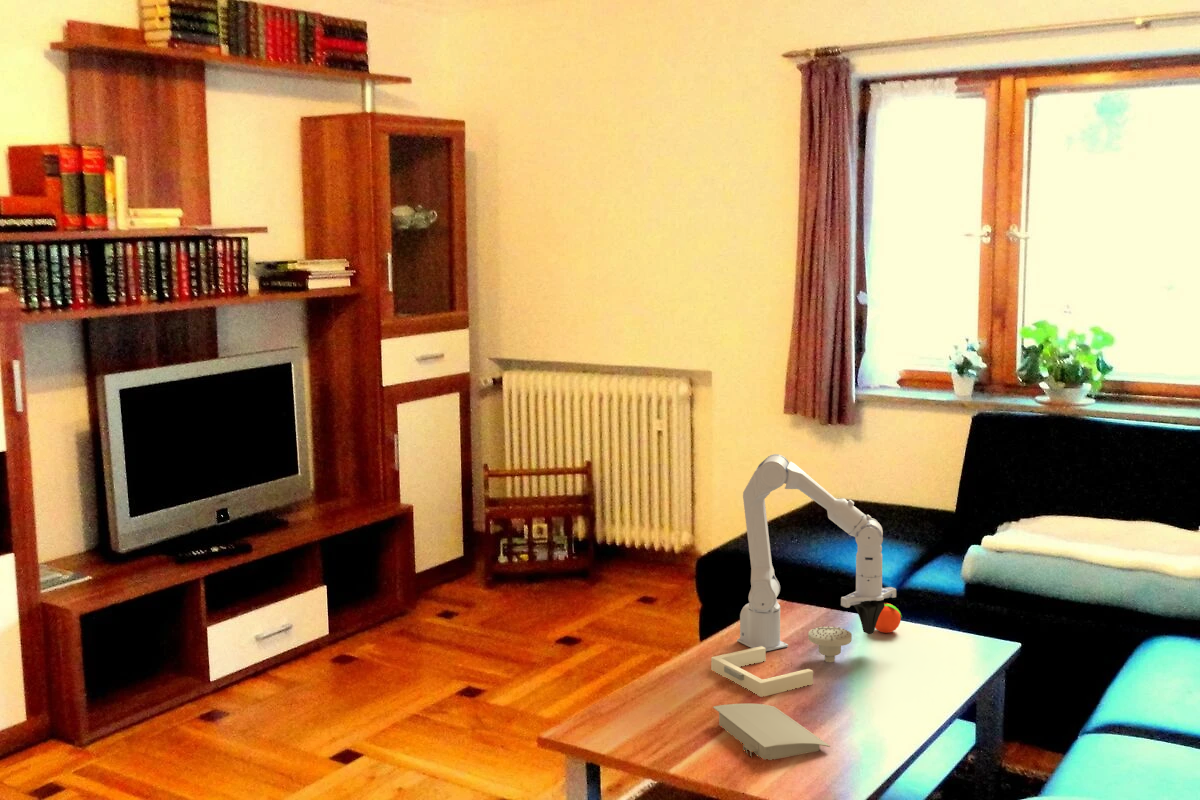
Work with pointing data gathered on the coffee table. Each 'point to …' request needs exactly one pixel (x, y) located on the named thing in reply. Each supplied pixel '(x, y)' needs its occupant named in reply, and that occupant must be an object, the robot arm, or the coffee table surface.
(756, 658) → the dock
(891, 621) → the clementine
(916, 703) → the coffee table surface
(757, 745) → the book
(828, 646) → the showerhead
